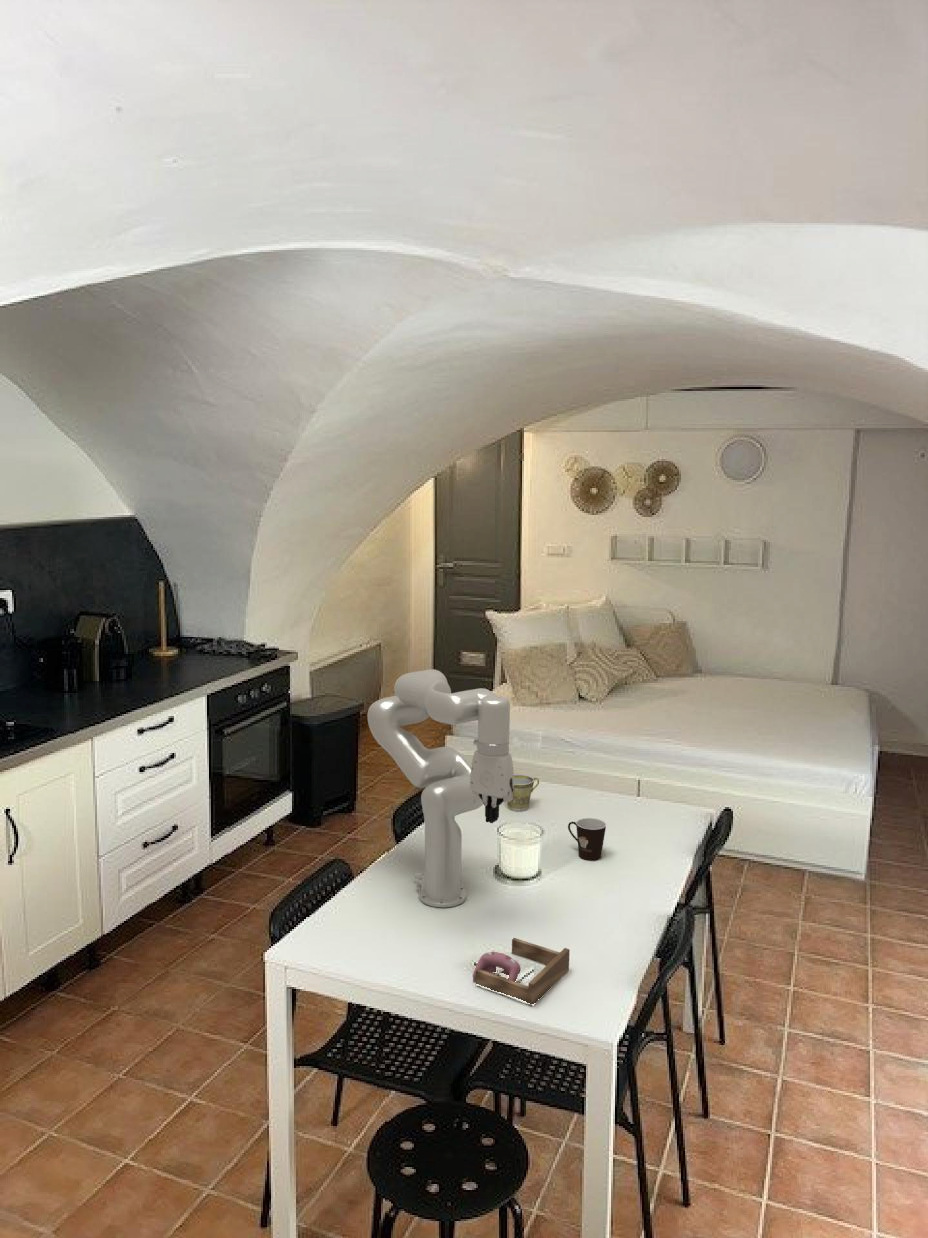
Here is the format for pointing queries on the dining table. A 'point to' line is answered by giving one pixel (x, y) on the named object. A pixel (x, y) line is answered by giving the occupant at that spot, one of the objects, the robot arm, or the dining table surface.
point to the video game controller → (498, 964)
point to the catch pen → (540, 982)
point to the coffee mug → (589, 837)
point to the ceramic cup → (521, 792)
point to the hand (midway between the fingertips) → (491, 820)
